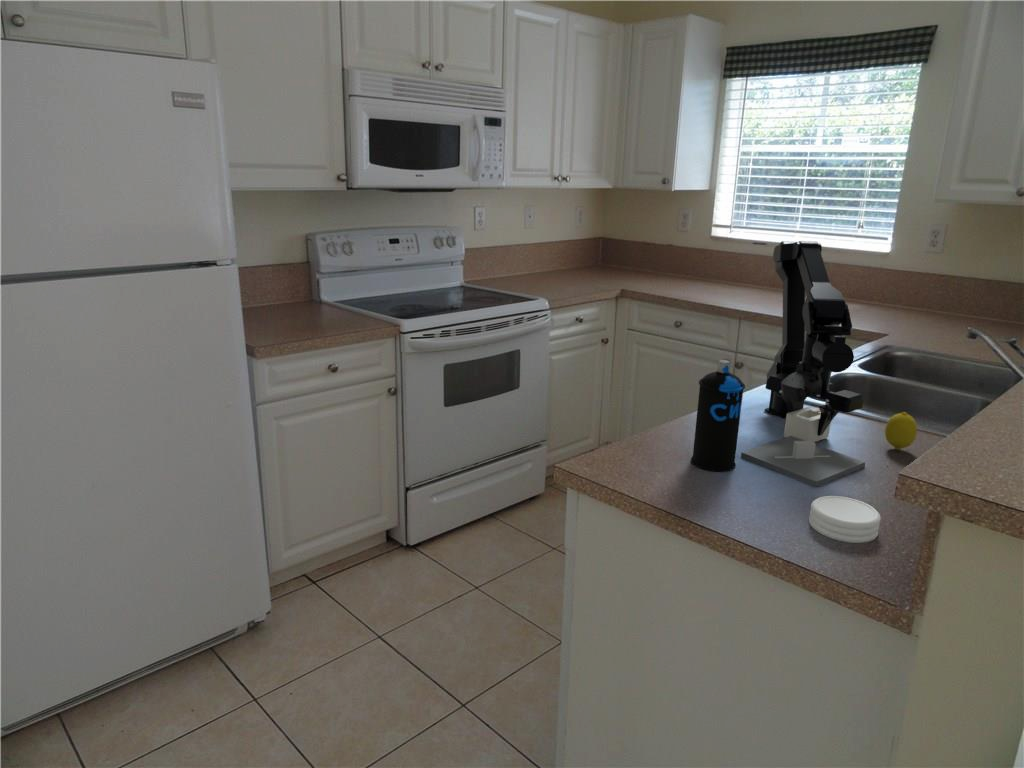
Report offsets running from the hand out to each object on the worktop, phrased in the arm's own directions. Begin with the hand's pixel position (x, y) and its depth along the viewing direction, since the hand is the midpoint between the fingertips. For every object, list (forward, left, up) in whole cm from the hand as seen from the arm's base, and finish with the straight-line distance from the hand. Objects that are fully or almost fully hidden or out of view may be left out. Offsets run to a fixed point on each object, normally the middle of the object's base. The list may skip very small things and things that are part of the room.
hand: (806, 431), depth 151 cm
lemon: (+14, +10, -2) cm, 17 cm away
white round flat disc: (+26, -30, -2) cm, 40 cm away
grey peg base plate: (+7, -12, -2) cm, 14 cm away
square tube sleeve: (0, 0, -1) cm, 1 cm away
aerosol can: (-2, -27, -2) cm, 27 cm away
